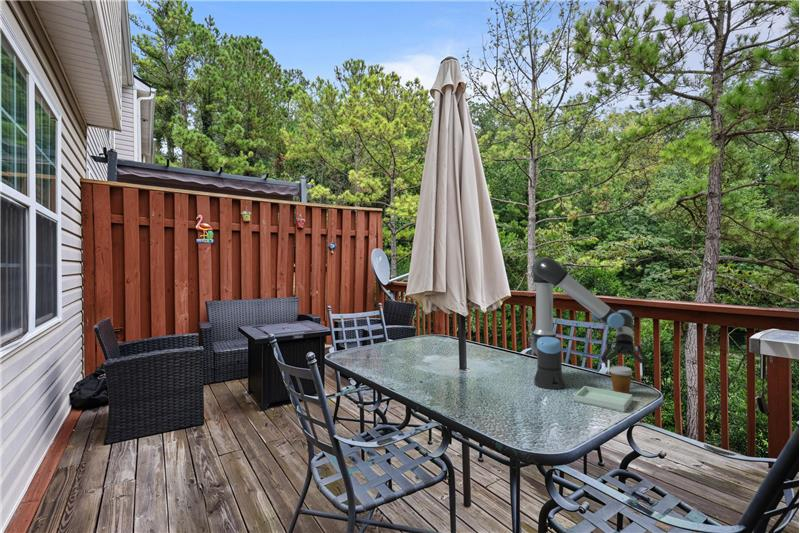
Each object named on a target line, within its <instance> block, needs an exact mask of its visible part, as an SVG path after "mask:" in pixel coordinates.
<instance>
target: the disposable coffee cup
mask: <svg viewBox="0 0 800 533" xmlns="http://www.w3.org/2000/svg"><path fill="white" fill-rule="evenodd" d="M632 375H633V370H632V368H630V367H628V366H625V365H624V366H622V365H612V366H610V377H611V382H612V384H611V385H612V389H613V390H612V391H615V392H621V393H626V394H630V389H631V380H632Z"/></svg>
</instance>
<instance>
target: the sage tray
mask: <svg viewBox="0 0 800 533" xmlns="http://www.w3.org/2000/svg"><path fill="white" fill-rule="evenodd" d="M573 402H574V403H579V404H582V405H589V406H590V407H591V406H593V407H596V408H601V409H606V410H609V411H610V410H611V411H615V412H621V413H625V412H626V411H627V409H628V408H629V407H630V405H631V404H632V402H633V394H631V393H629V394H626V393H621V392H615V391H613V390H609V389H603V388H598V387H593V386H586V385H584V386H582V387H581V388H580V389H579V390H578V391H577V392H575V393H574V394H573Z"/></svg>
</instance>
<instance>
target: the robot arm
mask: <svg viewBox="0 0 800 533" xmlns="http://www.w3.org/2000/svg"><path fill="white" fill-rule="evenodd" d="M531 272H532V278H533V280H532V282H533V285H535V312H536V313H535V330H534V331H533V332H532V340H531V347H532V350H533V352H534V354H536V360H537V361H536V362H537V363H536V364H537V365H536V366H537V369H536V373H535V375H534V378H533V385H534V386H537V387H539V388H542V389H546V390H547V389H548V390H560V389H565V388H566V387H567V385H566V384H567V381H566V378H565V375H564V373H563V366H562V364H563V363H562V360H563V359H562V350H563V348H562V347H563V346H562V341H561V340H560V339H558V338H557V335H556V334H557V333H556V332H555V331H554V330H553V329H554V326H553V324H554V321H553V320H554V318H553V317H554V287H557V288H560V290H562V291H564V292H565V293H566V294H567V295H568V296H570V297H571V298H572V299H574V300H575V301H576V302H578V303H579V304H580V305H581V306H582V307H584V308H585V309H586V310H588V311H589V312H591V319H592V320H593V321H596V322H597V323H598V322H599V323H601V324H604V325H606V326H608V327H609V328H611V329H615V344H612V343H608V347H607V348H606V350H604V352H603V354H602V355H601V357H600V359H601V361H602V362H604V366H605V368H606V369H607V375H608V376H611V372H610V368H611V366H610V364H611V362H610V361H612V359H614V358H615V357H616V356H618V355H619V354H620V355H630V356H631V357H633V358H634V359H635V361H637V362H638V364H639V369H640V370H639V373H640V379H643V372H646V366H650V361H649V359H648V357H647V356H646V354H645V353H644V352H643V350H642V348H641V345H637V346H635V345H634V330H633V329H634V328H633V327H634V325H633V324H634V323H633V322H634V320H633V314H632V312H631V311H630V310H627V309H618V311H615V310H614V309H612V308H611V307H610V306H609V305H608V304H607V303H605V302H603V300H601V299H600V298H599V297H597V296H596V295H595V294H594V293H592V291H590V290H588V289H587V288H586V287H584V286H583V285H582V284H581V283H579V282H578V281H577V280H576V279H575V278H573V277H572V276H571V275H570V273H569V271H567V269H565V268H564V267H563V266H562V265H560V263H558V261H556V260H555V259H553V258H549V257H540V258H538V259H536V260H535V261H534V262H533V264H532V266H531ZM614 348H615V349H614ZM613 349H614V351H613V352H611V351H612V350H613ZM635 351H636V352H637V353H638V354H639V355H640V356H639V355H638V354H637V353H636V352H635Z"/></svg>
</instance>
